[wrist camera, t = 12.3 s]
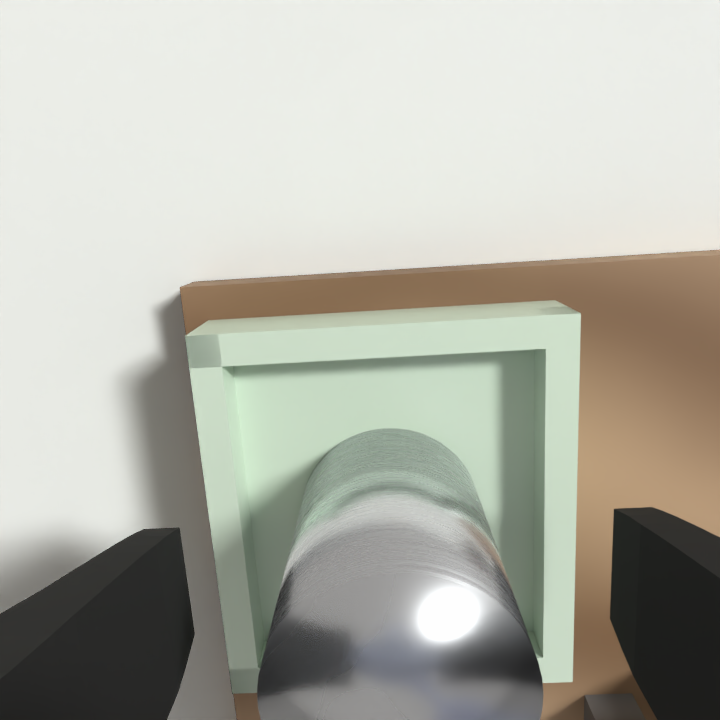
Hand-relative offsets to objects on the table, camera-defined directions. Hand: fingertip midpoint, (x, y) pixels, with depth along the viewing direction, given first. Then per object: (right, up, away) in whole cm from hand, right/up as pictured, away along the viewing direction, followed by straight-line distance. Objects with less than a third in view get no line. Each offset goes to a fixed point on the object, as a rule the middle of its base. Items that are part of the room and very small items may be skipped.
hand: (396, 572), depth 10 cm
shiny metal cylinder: (0, 0, +2) cm, 3 cm away
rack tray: (0, +1, +3) cm, 3 cm away
